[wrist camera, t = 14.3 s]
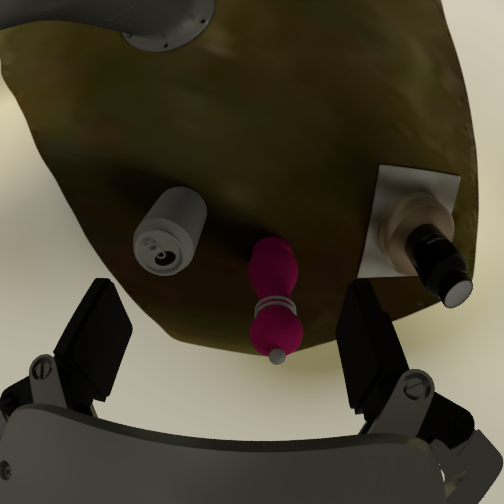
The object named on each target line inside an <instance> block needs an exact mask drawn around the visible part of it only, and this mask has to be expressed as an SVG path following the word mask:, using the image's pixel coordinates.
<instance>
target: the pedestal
mask: <svg viewBox="0 0 504 504" xmlns="http://www.w3.org/2000/svg"><path fill="white" fill-rule="evenodd" d="M460 179H461V177H460V176H457V175H452V174H446V173H440V172H434V171H428V170H421V169H414V168H407V167H399V166H391V165H382V164H379V169H378V176H377V182H376V189H375V195H374V200H373V206H372V211H371V217H370V222H369V227H368V231H367V236H366V241H365V245H364V250H363V254H362V258H361V262H360V266H359V270H358V274H357V278H364V277H392V276H415V275H418V274H417V272H416V270H415V269H414V267H413V266H412V264H411V262H410V261H409V259H408V257H407V255H406V253H405V243H406V240H407V237H408V236H409V234H410V233H411V232H412V231H413V230H414V229H415V228H416V227H418V226H420V225H422V224H433V225H435V226H437V227H438V228H439V229H440V230H441V231H442V232H443V234H444V235H445V236H446V237H447V238H448V239H449V241H450V242H451V243H452V240H453V237H454V221H453V218H452V215H451V214H452V211H453V207H454V203H455V200H456V196H457V192H458V188H459V184H460Z"/></svg>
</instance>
